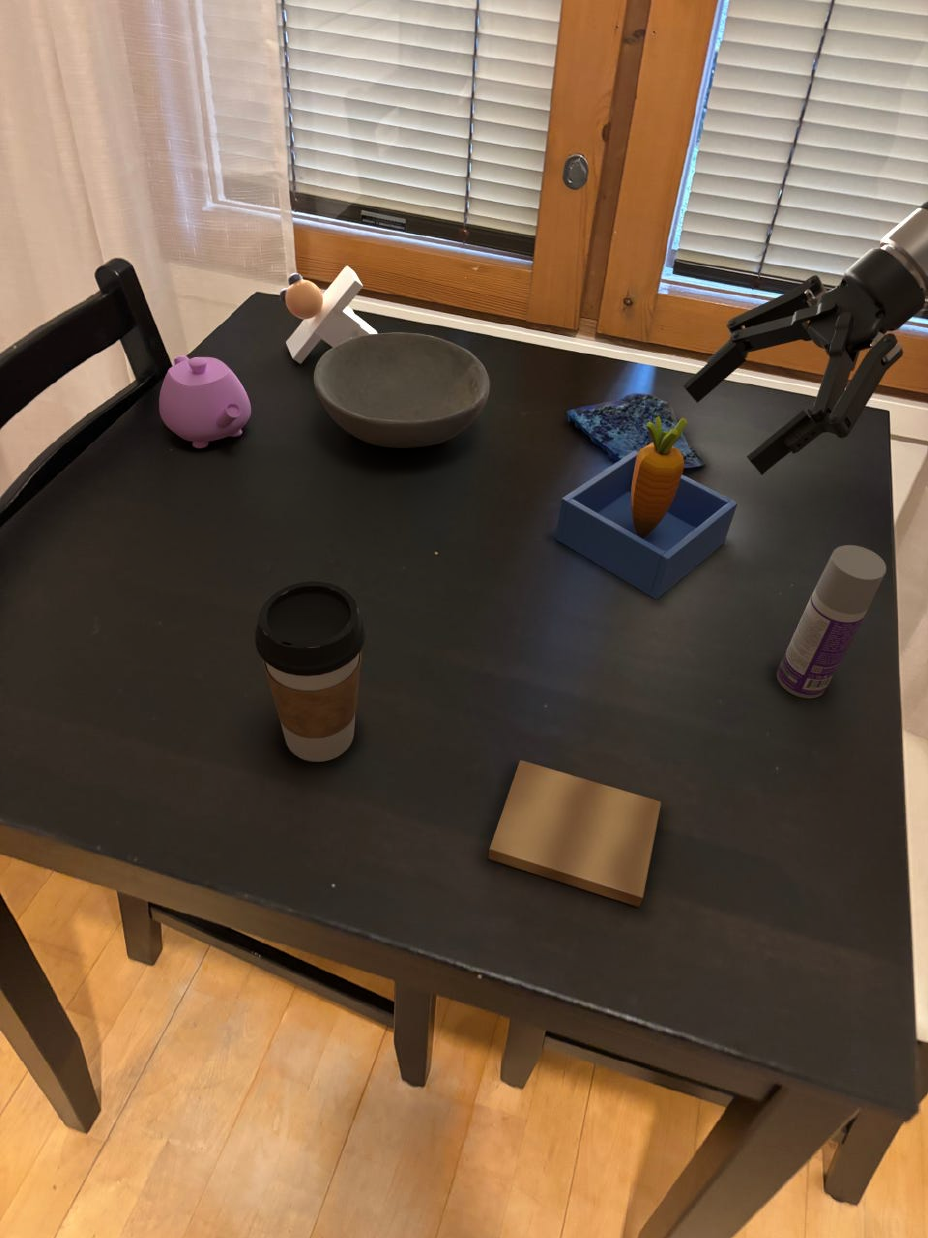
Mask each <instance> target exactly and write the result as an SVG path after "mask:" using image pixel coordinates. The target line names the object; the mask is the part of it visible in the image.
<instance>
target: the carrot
mask: <svg viewBox="0 0 928 1238" xmlns="http://www.w3.org/2000/svg"><path fill="white" fill-rule="evenodd" d="M655 421H656V425H657V428H656V426H655V425H654V424H653V423H652V422H648V423H647V425H646V427H647V429H648V431H649V433H650V435H651V438H652V441H653V443H651V444H649V445H647V446H646V447H644V448H642V449H641V450H640V451H639V452H638V454H637V458H636V463H635V468H634V474H633V480H632V488H631V511H632V516H633V522H634V526H635V529H636V532H637V535H639V536H640V537H645V536H647V535H648V534H649V533H650V532H651V531H652V530H653V529H654V528H656V526H657V525H658V524H659V523H660V522H661V520H662V519H663V518H664V516H665V514H666V512H667V511H668V509H669V507H670V505H671V503H672V501H673V499H674V497H675V494H676V491H677V488H678V485H679V482H680V479H681V476H682V475H683V473H684V469H685V468H684V460H683V457H682V453H681V451H680V450H679V449H677V448H675V447H673V445H674V444H675V443H676V442H677V441H678V440H679V439H680V438H681V437H682V434H681V433H682V432H684V430H685V429H686V426H687V424H688V421H687V419H686V418H685V417H680V419H679V421H678V422H677V423H678V424H677V426H676V428H675V429H673V428H672V429H671V430H670V431H669V432H667V431H666V430H665V431H663V435H662V423H661V419H660V417H657V418H656V419H655Z"/></svg>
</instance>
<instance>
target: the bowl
mask: <svg viewBox="0 0 928 1238" xmlns="http://www.w3.org/2000/svg"><path fill="white" fill-rule="evenodd" d="M313 382H314V383H313V384H314V387H315V388H314V389H315V391H316V395H317V396H318V399H319V401H320V402H321V405H322V406H323V408H324V410H325V411H326V412H327V414H328V415H329V416H330V418H332V420H333V421H335V423H336V424H337V425H338V426H339V427H340V428H342V429H343V430H344V431H345V432H347V433H348V434H350V435H351V436H353V437H354V438H356V439H358V440H360V441H363V442H365V443H368V444H370V445H374V446H378V447H385V448H393V449H399V448H400V449H415V448H420V447H428V446H434V445H438V444H439V445H440V444H442V443H445V442H447V441H449V440H452V439H453V438H455V437H456V436H458V435H459V434H461V433H462V432H464V431H465V430H466V429H468V428H469V427H470V426H471V425H472V424H473V423H474V422H475V421H476V420H477V419H478V418H479V416H480V414H481V413H482V411H483V409H484V407H485V405H486V404H487V401H488V399H489V395H490V390H491V387H490V386H491V381H490V376H489V373H488V372H487V369H486V368H485V366H484V365H483V363H482V362H481V360H479V358H477V356H476V355H474V354H473V353H472V352H471V351H470V350H468V349H466V348H464V347H462V346H460V345H458V344H456V343H455V342H451V341H448V340H446V339H443V338H441V337H438V336H433V335H427V334H423V333H414V332H381V333H378V334H367V335H362V336H358V337H355V338H353V337H352V339H349V340H347V341H345V342H342V343H340V344H338V345H336V346H335V347H331V348H330V349H328V350H327V351H325V353H323V354H322V355H321V357H320V358H319V360H318V361H317V363H316V366H315V369H314V374H313Z"/></svg>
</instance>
